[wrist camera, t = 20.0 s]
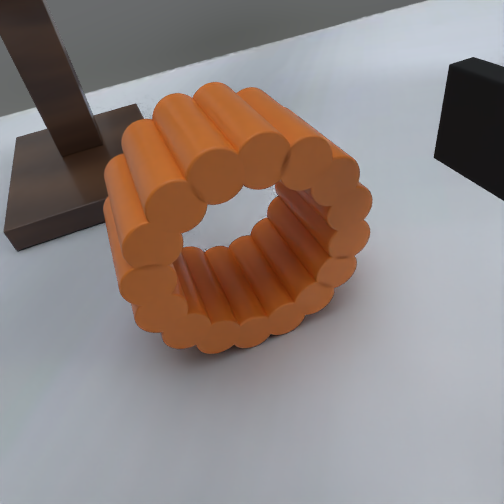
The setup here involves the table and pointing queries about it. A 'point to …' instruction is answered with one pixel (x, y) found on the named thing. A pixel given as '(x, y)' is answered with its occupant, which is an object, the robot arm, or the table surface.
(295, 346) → the table surface
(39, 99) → the stand
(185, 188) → the tape roll
